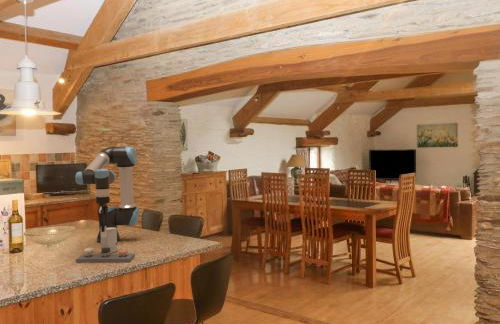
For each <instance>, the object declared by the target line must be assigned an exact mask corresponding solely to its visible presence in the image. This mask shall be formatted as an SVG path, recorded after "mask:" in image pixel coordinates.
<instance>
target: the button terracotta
mask: <svg viewBox="0 0 500 324" xmlns="http://www.w3.org/2000/svg"><path fill="white" fill-rule="evenodd" d="M128 251H129V250H128V249H126V248H123V249H119V250H118V254H120V255H121V257H126V254H129V253H128Z"/></svg>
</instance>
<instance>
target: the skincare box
mask: <svg viewBox="0 0 500 324" xmlns="http://www.w3.org/2000/svg"><path fill="white" fill-rule="evenodd" d="M100 230H101V229H100ZM117 230H118V227H117V228H111V227H110V228H106V235H107V237H101V243H100V254H103V253H102V250H101V249H102V248H107V247H108V248H110V252H108V254H114V253H116V252H118V241H117Z"/></svg>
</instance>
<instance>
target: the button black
mask: <svg viewBox="0 0 500 324" xmlns="http://www.w3.org/2000/svg"><path fill="white" fill-rule="evenodd" d="M101 250H102V253H101V254H104V257H108V252H110V248H108V247H107V248H102V249H101V248H100V251H101Z"/></svg>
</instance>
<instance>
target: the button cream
mask: <svg viewBox="0 0 500 324" xmlns="http://www.w3.org/2000/svg"><path fill="white" fill-rule="evenodd" d="M83 252H84V253H83V254H86V257H91V254H93V252H94V247H85V248H83Z"/></svg>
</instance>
